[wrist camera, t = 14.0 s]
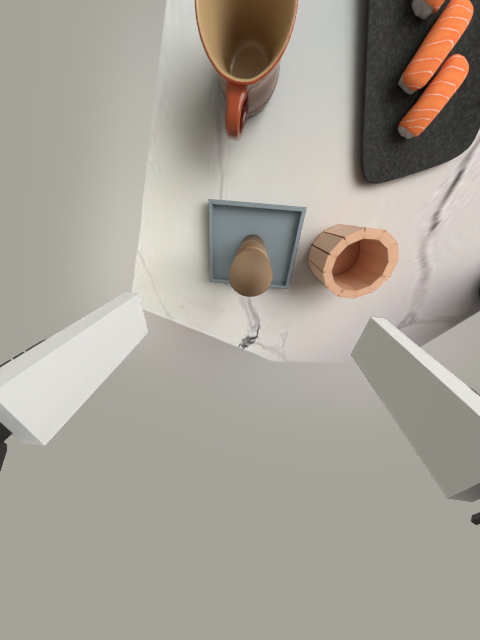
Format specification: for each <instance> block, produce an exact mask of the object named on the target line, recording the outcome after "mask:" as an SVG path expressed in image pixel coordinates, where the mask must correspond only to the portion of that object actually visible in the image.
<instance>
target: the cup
mask: <svg viewBox="0 0 480 640" xmlns="http://www.w3.org/2000/svg"><path fill="white" fill-rule="evenodd" d="M396 242H397V241H396V240H395V239H394V238H393V237H392V236H391V235H390V234H389V233H388V232H387V231H386V230H383V229H375V228H368V227H360V226H352V225H340V224H339V225H336V226H334V227H331V228H329V229H327V230H325V231H324V233H323V232H322V233H321V234H320V235H319V237H318V238H317V239H316V240H315V241H314V242H313V245H314V246H313V245H311V249H310V253H309V257H308V259H309V260H308V262H309V265H310V269H311V271H312V273H313V274H314V275H315V276H316V277H317V278H318V279H319V280H320V281H321V282H322V283H323V284H324V285H325V286H326V287H327V288H328V289H329V290H330V291H331V292H333V293H334V294H335V295H337V296H339V297H346V298H354V297H355V298H357V297H360V296H363V295H366V294H369V293H372V291H375V290H376V289H377V288H378V287H380V286H381V285H382V284H383V283H384V282H386V281H387V280H388V279H387V278H390V276H391V274H392V272H393V270H394V268H395V266H396V265H397V263H398V261H396V260H399V257H398V243H396ZM386 277H387V278H386Z"/></svg>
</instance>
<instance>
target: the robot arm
mask: <svg viewBox="0 0 480 640" xmlns="http://www.w3.org/2000/svg"><path fill="white" fill-rule="evenodd" d="M479 294H480V290H479ZM147 333H148V330H147V326H146V322H145V317H144V313H143V309H142V305H141V301H140V296H139V293H131V292H125V293H123V294H122V295H120V296H118V297H117V298H115V299H113V300H112V301H110V302H108V303H107V304H105V305H103V306H102V307H100V308H98V309H97V310H95V311H93V312H92V313H90V314H88V315H87V316H85V317H83V318H82V319H80V320H79V321H77V322H75V323H73V324H72V325H70V326H68V327H67V328H65V329H63V330H62V331H60V332H58V333H57V334H55V335H53V336H52V337H50V338H48V339H46V340H43V341H41V342H39V343H38V344H36V345H34V346H32V347H31V348H29V349H27V350H26V352H22V353H21V354H19V355H17V356H15V357H14V358H13V360H9V361H7V362H5V363H4V364H2V365H0V471H1V467H2V464H3V461H4V458H5V455H6V452H7V444H6V443H4V441H5V440H6V439H7V438H8V437H9V436H10V435H11V434H13V435H14V436H16V437H17V438H18V439H19V440H20V441H21V442H22V443H27V444H35V445H43V446H45V445H46V444H47V443H48V442H49V441H50V439H51V438H52V437H53V436H54V435H55V434H56V433H57V432H58V431H59V430H60V428H61V427H62V426H63V425H64V424H65V423H66V422H67V421H68V420H69V419H70V418H71V416H72V415H73V414H74V413H75V412H76V411H77V410H78V409H79V408H80V407H81V405H82V404H83V403H84V402H85V401H86V400H87V399H88V398H89V397H90V396H91V394H92V393H93V392H94V391H95V390H96V389H97V388H98V387H99V386H100V384H101V383H102V382H103V381H104V380H105V379H106V378H107V377H108V376H109V375H110V374H111V373H112V371H113V370H114V369H115V368H116V367H117V366H118V365H119V364H120V362H122V360H123V359H124V358H125V357H126V356H127V355H128V354H129V353H130V352H131V351H132V350H133V348H134V347H135V346H136V345H137V344H138V343H139V342H140V341H141V340H142V339H143V337H144V336H145V335H146V334H147ZM351 356H352V357H353V358H354V360H355V361H356V363H357V364H358V366H359V367H360V369H361V370H362V372H363V373H364V375H365V376H366V378H367V379H368V381H369V382H370V384H371V385H372V387H373V388H374V390H375V391H376V393H377V394H378V396H379V397H380V399H381V400H382V402H383V403H384V405H385V406H386V408H387V409H388V411H389V412H390V414H391V415H392V417H393V418H394V420H395V421H396V423H397V424H398V426H399V427H400V429H401V430H402V432H403V433H404V435H405V436H406V438H407V439H408V441H409V442H410V444H411V445H412V447H413V448H414V450H415V451H416V453H417V454H418V456H419V457H420V459H421V460H422V462H423V463H424V464H425V466H426V468H427V469H428V470H429V472H430V474H431V475H432V477H433V478H434V480H435V481H436V483H437V484H438V486H439V487H440V489H441V490H442V491H443V493H444V495H445V496H446V498H447V499H455V500H462V501H469V502H473V501H476V500H478V499H480V395H479V394H478V393H477V392H476V391H474V390H473V389H471V388H470V387H468V386H467V385H465V384H464V383H463V382H462V381H460V380H459V379H458V378H457V377H456V376H454V375H453V374H452V373H451V372H449V371H448V370H447V369H446V368H445V367H443V366H442V365H441V364H440V363H438V362H437V361H436V360H435V359H434V358H432V357H431V356H430V355H429V354H428V353H426V352H425V351H424V350H423V349H421V348H420V347H419V346H418V345H417V344H415V343H414V342H413V341H412V340H410V339H409V338H408V337H407V336H406V335H404V334H403V333H402V332H401V331H399V330H398V329H397V328H396V327H395V326H393V325H392V324H391V323H390V322H388V321H387V320H386V319H385V318H375V317H370V319H369V321H368V323H367V325H366V327H365V329H364V331H363V333H362V334H361V336H360V338H359V340H358V342H357V344H356V346H355V348H354V349H353V351H352V353H351ZM471 522H472V523H474V524H475V525H478V524H480V513H477V514H474V515H472V518H471Z"/></svg>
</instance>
